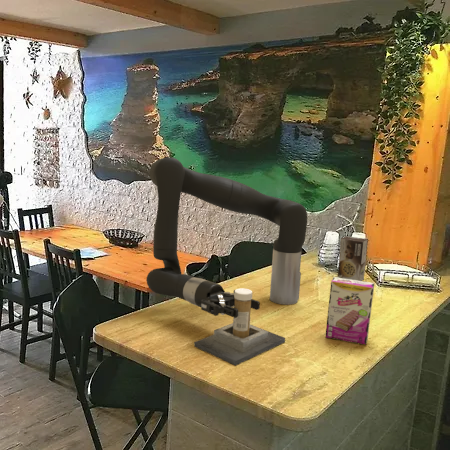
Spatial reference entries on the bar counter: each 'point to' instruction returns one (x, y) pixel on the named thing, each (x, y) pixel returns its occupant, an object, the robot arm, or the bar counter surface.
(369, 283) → the candy bar box
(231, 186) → the robot arm
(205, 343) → the collar socket
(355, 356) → the bar counter surface
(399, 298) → the bar counter surface
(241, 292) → the sprinkles bottle
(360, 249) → the cookie box
